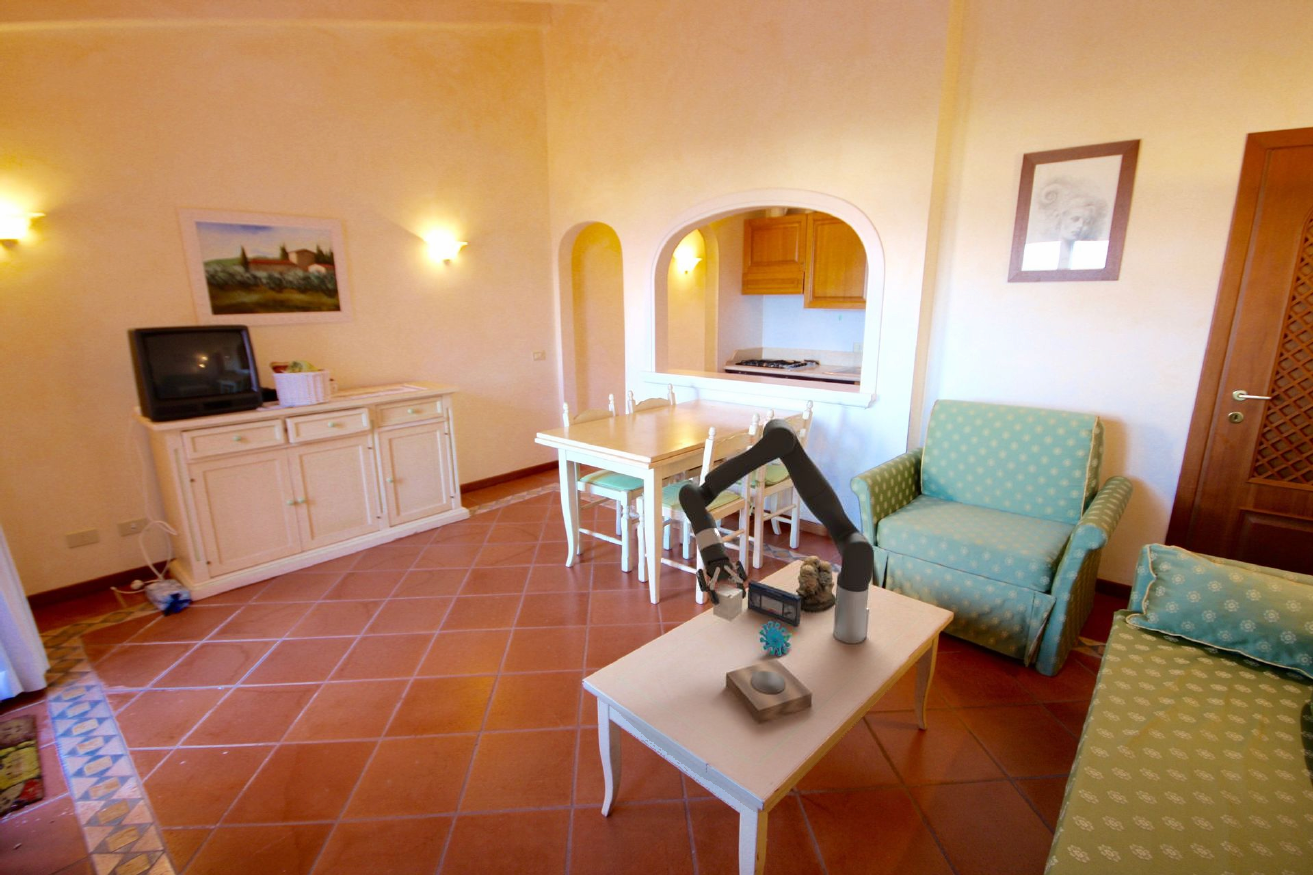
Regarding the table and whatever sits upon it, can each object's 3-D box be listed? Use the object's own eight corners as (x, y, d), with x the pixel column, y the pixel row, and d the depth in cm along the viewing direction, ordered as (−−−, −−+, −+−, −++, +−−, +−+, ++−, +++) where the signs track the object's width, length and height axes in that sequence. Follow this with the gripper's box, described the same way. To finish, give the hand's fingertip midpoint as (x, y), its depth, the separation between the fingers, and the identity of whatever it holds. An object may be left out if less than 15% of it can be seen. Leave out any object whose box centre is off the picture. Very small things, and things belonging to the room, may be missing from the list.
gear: (766, 656, 169) (757, 621, 174) (756, 661, 173) (748, 627, 178) (798, 653, 173) (789, 619, 178) (788, 658, 177) (779, 624, 182)
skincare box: (724, 606, 169) (725, 582, 168) (742, 613, 165) (743, 589, 164) (712, 614, 165) (712, 591, 163) (730, 622, 161) (731, 598, 159)
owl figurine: (812, 618, 192) (815, 570, 188) (783, 605, 200) (785, 559, 197) (843, 600, 203) (846, 554, 199) (814, 588, 212) (817, 544, 208)
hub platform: (775, 671, 165) (776, 657, 164) (811, 706, 150) (812, 692, 149) (725, 685, 158) (726, 671, 157) (758, 724, 144) (758, 709, 143)
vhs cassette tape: (746, 608, 198) (747, 582, 196) (751, 605, 200) (752, 578, 198) (796, 628, 186) (797, 599, 184) (800, 624, 188) (802, 596, 186)
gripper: (693, 546, 165) (712, 602, 157) (737, 538, 170) (757, 591, 162) (685, 556, 171) (703, 610, 163) (728, 547, 176) (747, 600, 168)
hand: (730, 601), depth 163 cm, fingers closed on skincare box, 8 cm apart
